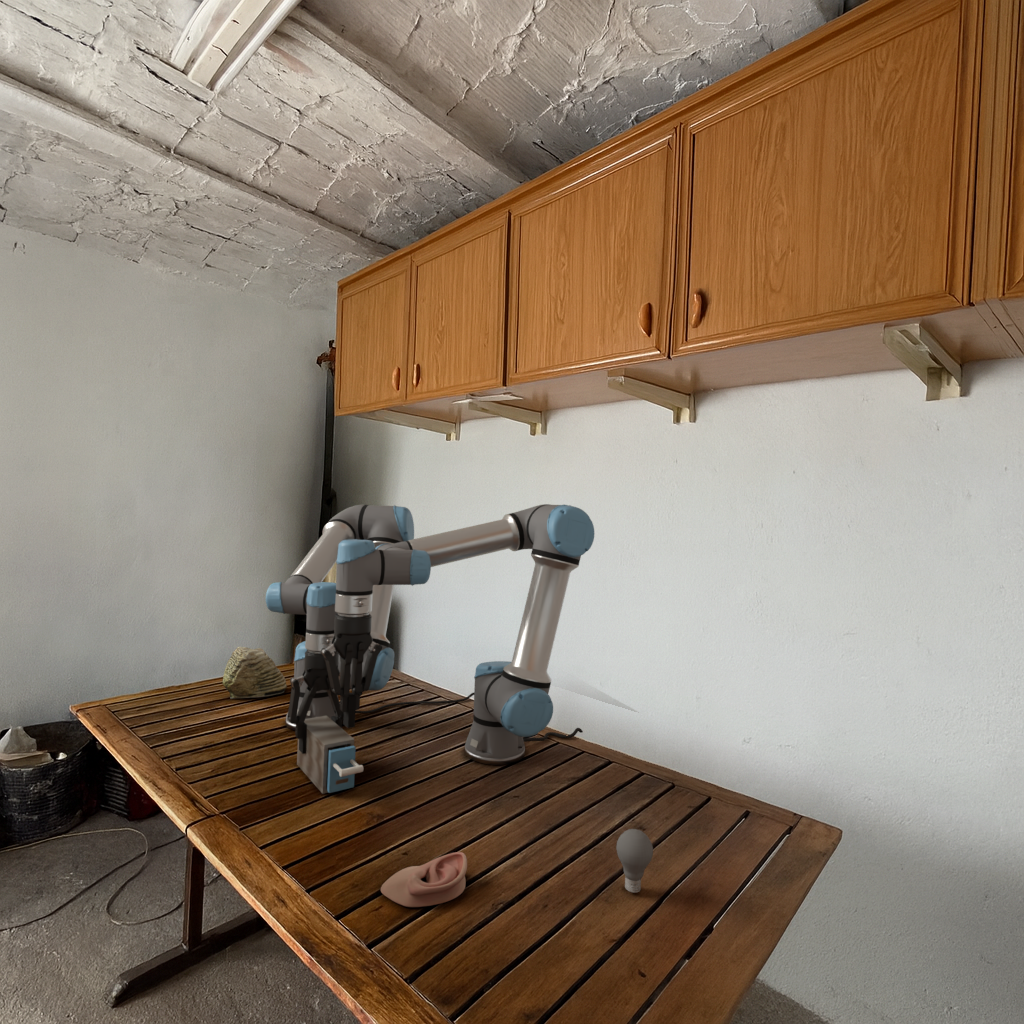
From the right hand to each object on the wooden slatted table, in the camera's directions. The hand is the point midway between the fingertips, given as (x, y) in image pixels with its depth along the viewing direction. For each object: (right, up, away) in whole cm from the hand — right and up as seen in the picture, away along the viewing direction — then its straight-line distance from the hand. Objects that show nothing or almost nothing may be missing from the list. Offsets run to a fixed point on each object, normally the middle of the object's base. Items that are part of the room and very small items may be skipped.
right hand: (349, 725), depth 133 cm
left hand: (-11, -10, +14) cm, 21 cm away
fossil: (-46, -12, +65) cm, 81 cm away
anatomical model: (+20, -17, -29) cm, 39 cm away
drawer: (-5, -14, +7) cm, 17 cm away
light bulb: (+54, -19, -27) cm, 63 cm away
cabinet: (-9, -15, +11) cm, 21 cm away
